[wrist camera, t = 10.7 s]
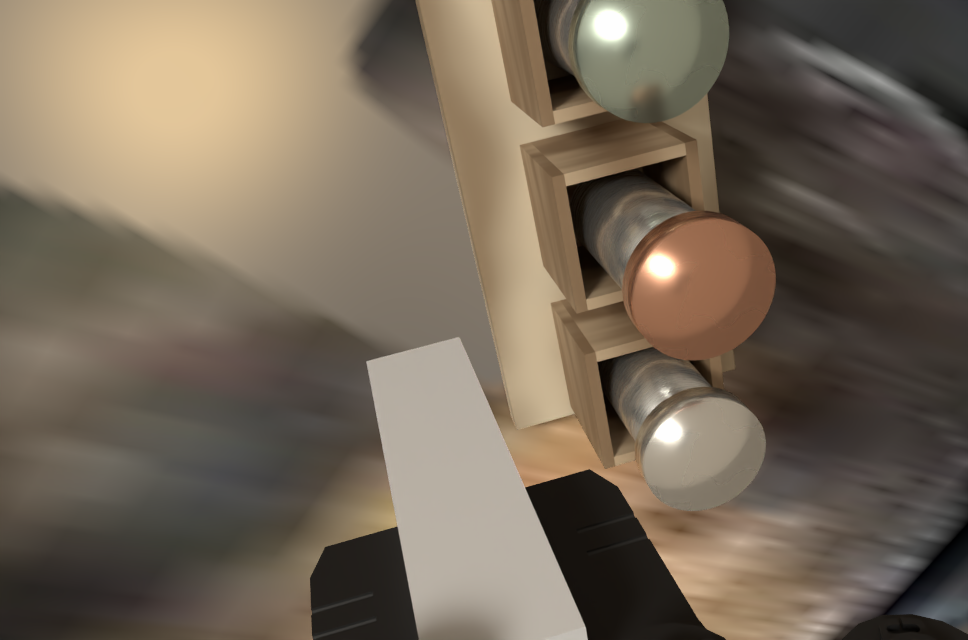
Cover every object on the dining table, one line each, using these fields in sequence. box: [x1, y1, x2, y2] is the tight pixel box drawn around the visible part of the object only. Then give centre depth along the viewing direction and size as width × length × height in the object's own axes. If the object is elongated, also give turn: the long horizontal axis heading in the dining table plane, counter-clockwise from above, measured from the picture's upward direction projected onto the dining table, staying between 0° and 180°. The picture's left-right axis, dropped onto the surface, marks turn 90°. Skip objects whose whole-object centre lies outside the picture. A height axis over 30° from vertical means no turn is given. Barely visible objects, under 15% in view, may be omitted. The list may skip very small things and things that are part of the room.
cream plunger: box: [597, 347, 766, 511], centre depth 40 cm, size 5×5×10 cm
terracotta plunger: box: [569, 168, 776, 360], centre depth 34 cm, size 5×5×10 cm
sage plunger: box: [533, 0, 729, 123], centre depth 33 cm, size 5×5×10 cm
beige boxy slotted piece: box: [415, 0, 735, 469], centre depth 40 cm, size 12×23×8 cm, turn 12°
